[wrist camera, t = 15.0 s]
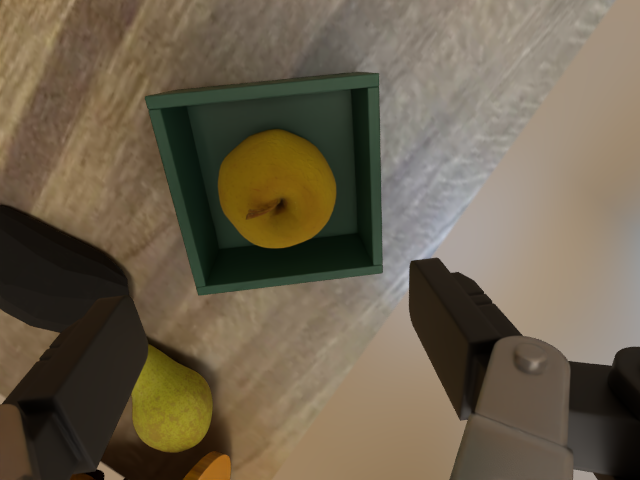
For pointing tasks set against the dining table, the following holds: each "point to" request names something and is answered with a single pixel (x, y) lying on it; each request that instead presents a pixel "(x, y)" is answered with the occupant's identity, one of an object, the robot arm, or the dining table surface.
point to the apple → (276, 189)
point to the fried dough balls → (205, 476)
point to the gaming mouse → (51, 274)
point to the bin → (253, 117)
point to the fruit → (170, 404)
